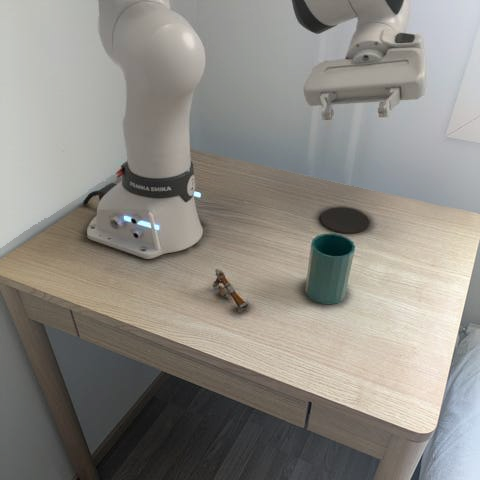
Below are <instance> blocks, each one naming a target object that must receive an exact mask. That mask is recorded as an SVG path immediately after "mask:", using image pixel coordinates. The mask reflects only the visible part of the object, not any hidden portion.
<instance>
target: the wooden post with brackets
mask: <svg viewBox="0 0 480 480" xmlns="http://www.w3.org/2000/svg"><path fill="white" fill-rule="evenodd" d="M214 272H215V275H214V276H216V278H215V280H214V281H213V283H212V287H213V288H214V289H216V288H217V290H218V294H220V295H221V298H224V299H227V298H228V297H229V296H231V298H232V299H233V301H234V303H235V305H236V307H237V313H240V312H242V311H244V310H246V309H247V308H248V306H249V305H250V302H249V301H245V300H244V299H243V298H242V297H241V296H240V295H239V294H238V293H237V292H236V289H235V288H234V286H233V284H232V283H231V282H229V281H228V279H227V278H226V274H225V273H224V271H223V270H222V269H218V268H216V269H215V271H214ZM220 284H222V285H223V287H222V285H220Z"/></svg>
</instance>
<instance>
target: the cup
mask: <svg viewBox="0 0 480 480" xmlns="http://www.w3.org/2000/svg"><path fill="white" fill-rule="evenodd" d="M311 240H312V241H311V243H310V250H309V257H308V266H307V273H306V280H305V290H304V291H305V294H306V296H307V297H308V298H309V299H310V300H311V301H313V302H315V303H318V304H321V305H335V304H338V303H340V302H342V301H343V300H344V299H345V297H346V293H347V288H348V284H349V280H350V273H351V269H352V265H353V259H354V256H355V250H356V245H355V243H354V241H352V239H350V238H349V237H347V236H345V235H343V234H340V233H339V234H338V233H330V232H329V233H321V234H319V235H316V236H315V237H314V238H312V239H311Z"/></svg>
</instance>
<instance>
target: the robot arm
mask: <svg viewBox="0 0 480 480" xmlns="http://www.w3.org/2000/svg"><path fill="white" fill-rule="evenodd" d="M170 1H171V0H98V1H97V2H98V18H97V30H98V35H99V39H100V42H101V45H102V47H103V49H104V51H105V54H106V55H107V56H108V58H109V59H110V60H111V61H112V62H113V63H114V64H115V65H116V66H117V67H118V68H119V69H121V71H122V74H123V76H124V80H125V88H126V89H125V91H126V92H125V111H124V116H123V118H122V123H121V124H122V131H123V138H124V145H125V152H126V161H125V162H124V163H122V164H121V165H120V168H119V169H118V170H117V171H116V172H115V175H116V179H120V177H122V179H121V181H119V182H118V183H115V182H111V183H109V184H107V185H105V186H104V187H102V188H100V189H99V190H94V191H92V192H89V193H88V194H87V195H86V197H85V198H84V200H83V202H82V204H83V205H85V206H86V205H88V204H89V202H90V201H91V200H92V198H93V197H95V196H98V200H99V202H98V204H97V207H96V215H95V216H94V217H93V219H92V220H91V221H90V222H89V224H88V226H87V228H86V237H87V239H89V240H90V241H93V242H96V243H98V244H101V245H105V246H108V247H111V248H113V249H116V250H119V251H122V252H125V253H128V254H130V255H133V256H136V257H139V258H141V259H145V260H152V259H155V258H157V257H160V256H162V255H165V254H171V253H177V252H180V251H183V250H186V249H189V248H191V247H192V246H194V245H196V244H197V243H198V242H199V241H200V240H201V239H202V237H203V234H204V228H203V226H202V224H201V220H200V218H199V214H198V211H197V205H196V200H195V197H197V198H201V192H198V191H195V190H196V177H195V171H194V169H195V168H194V163H193V161H192V158H191V136H190V118H191V117H190V116H191V109H192V103H193V97H194V92H195V88H196V87H197V86H198V85H199V84H200V82H201V80H202V78H203V76H204V73H205V69H206V50H205V46H204V44H203V42H202V39H201V38H200V37H199V35H198V33H197V32H196V30H195V29H194V27H193V26H192V24H190V22H189V21H188V20H187V19H186V18H185V17H184V16H182V15H181V14H179V13H178V12H176V11H174V10H172V9H171V2H170ZM291 4H292V9H293V12H294V16H295V19H296V20H297V22H298V24H299V25H300V26H302V27H303V28H304V29H306V30H307V31H308V32H311V33H313V34H316V35H319V34H322V33H324V32H327V31H329V30H330V29H332V28H335V27H337V26H338V25H339V24H343V23H345V22H348V21H351V20H353V19H357V21H356V22H357V23H356V25H355V30H354V33H353V34H352V36H351V39H350V43H349V45H348V48H347V51H346V54H345V58H342V59H333V60H324V61H321V62H319V63H317V64H316V65H315V66H313V68H312V70H311V72H310V73H309V75H308V77H307V79H306V81H305V82H304V85H303V95H304V98H305V101H306V103H307V105H309V106H310V107H318V106H321V108H322V109H321V113H320V114H321V119H322V121H331V120H332V119H333V116H334V113H335V112H334V109H333V105H348V104H349V105H350V104H363V103H364V104H365V103H366V104H367V103H378V104H379V105H378V108H377V113H378V118H389V116H390V113H391V111H392V110H393V109H394V108H396V106H398V105H399V104H400V102H401V101H411V100H413V101H414V100H419V99H420V98H422V97H423V96H424V95H425V94H426V88H427V65H426V64H427V63H426V54H425V45H424V39H423V35H421V34H418V33H408V32H407V30H408V29H407V28H408V25H409V18H410V12H411V0H291Z"/></svg>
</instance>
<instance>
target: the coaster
mask: <svg viewBox="0 0 480 480" xmlns="http://www.w3.org/2000/svg"><path fill="white" fill-rule="evenodd" d="M320 222H321V224H322V225H323V226H324V227H325V228H327V229H328V230H330V231H333V232H335V233H339V234H345V235H346V234H347V235H350V234H351V235H353V234H359V233H362V232H364V231H366V230H367V229H368V228H369V227H370V224H371V223H370V222H371V221H370V218H369V217H368V216H367V215H366V214H365V213H364V212H362V211H360V210H357V209H355V208H350V207H345V206H343V207H342V206H340V207H338V206H337V207H332V208H328V209H325V211H323V212H322V213H321V215H320Z"/></svg>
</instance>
